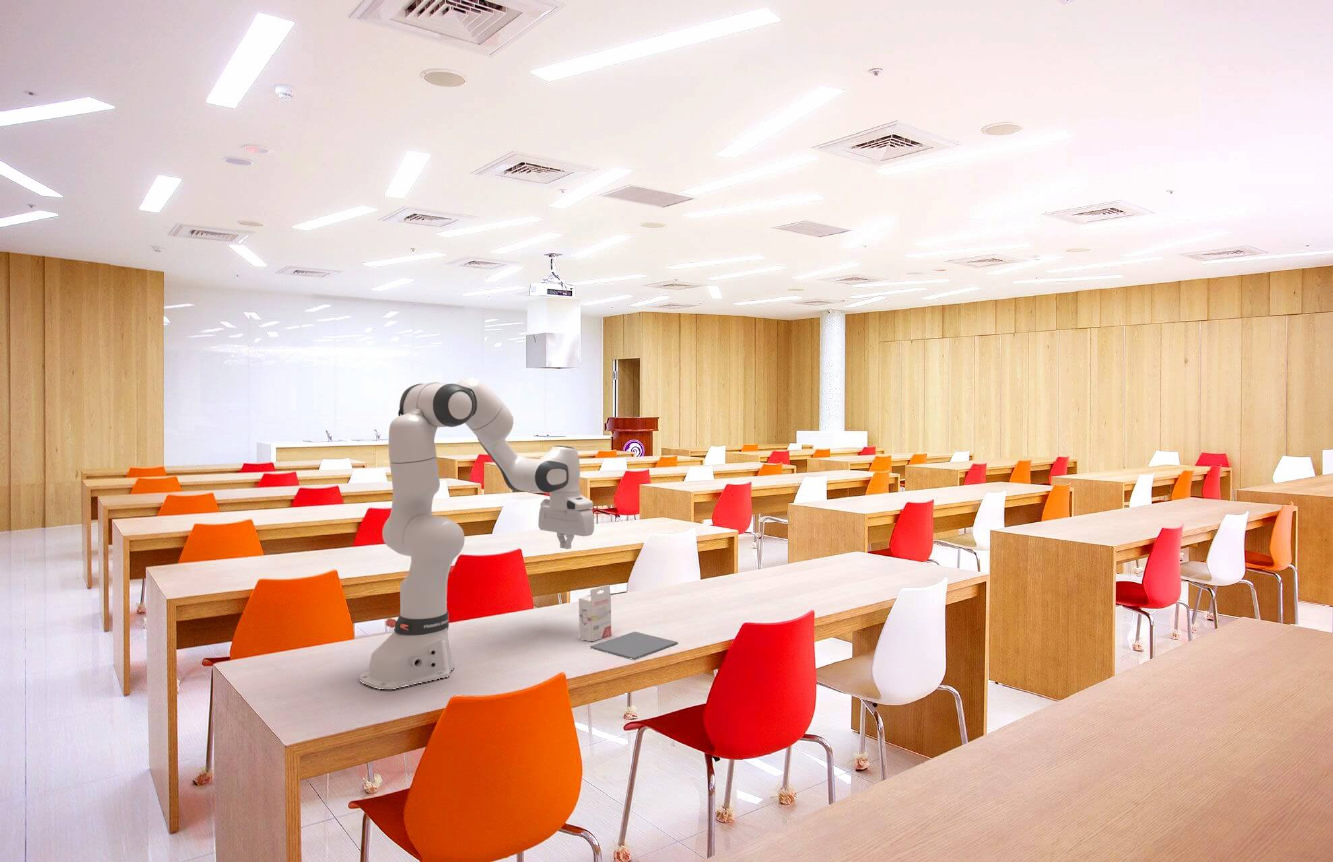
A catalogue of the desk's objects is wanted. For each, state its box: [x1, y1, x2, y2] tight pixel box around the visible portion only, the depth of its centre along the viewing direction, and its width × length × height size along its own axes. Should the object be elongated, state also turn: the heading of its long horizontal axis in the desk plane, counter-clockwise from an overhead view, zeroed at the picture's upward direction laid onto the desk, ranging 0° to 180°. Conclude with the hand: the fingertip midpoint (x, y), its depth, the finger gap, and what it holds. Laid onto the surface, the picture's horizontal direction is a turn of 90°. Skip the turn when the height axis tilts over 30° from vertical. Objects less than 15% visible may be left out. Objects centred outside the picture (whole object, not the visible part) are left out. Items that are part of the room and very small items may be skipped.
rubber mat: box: [589, 631, 679, 660], centre depth 222 cm, size 18×16×1 cm
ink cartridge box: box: [578, 584, 612, 642], centre depth 230 cm, size 9×5×15 cm, turn 143°
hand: (565, 548), depth 237 cm, fingers closed
